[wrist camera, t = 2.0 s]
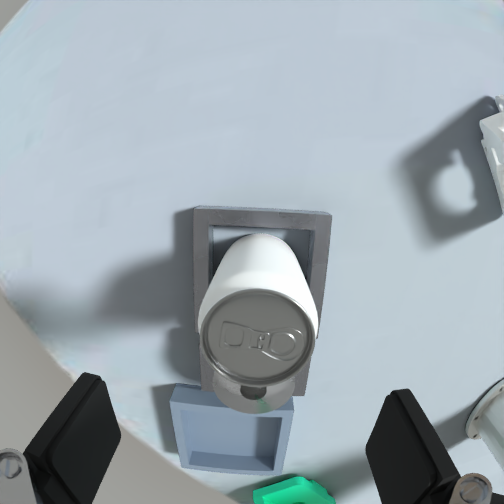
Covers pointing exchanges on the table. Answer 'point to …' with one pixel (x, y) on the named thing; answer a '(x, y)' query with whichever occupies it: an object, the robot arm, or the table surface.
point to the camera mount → (293, 493)
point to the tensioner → (203, 221)
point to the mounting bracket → (495, 146)
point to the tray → (228, 434)
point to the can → (258, 314)
